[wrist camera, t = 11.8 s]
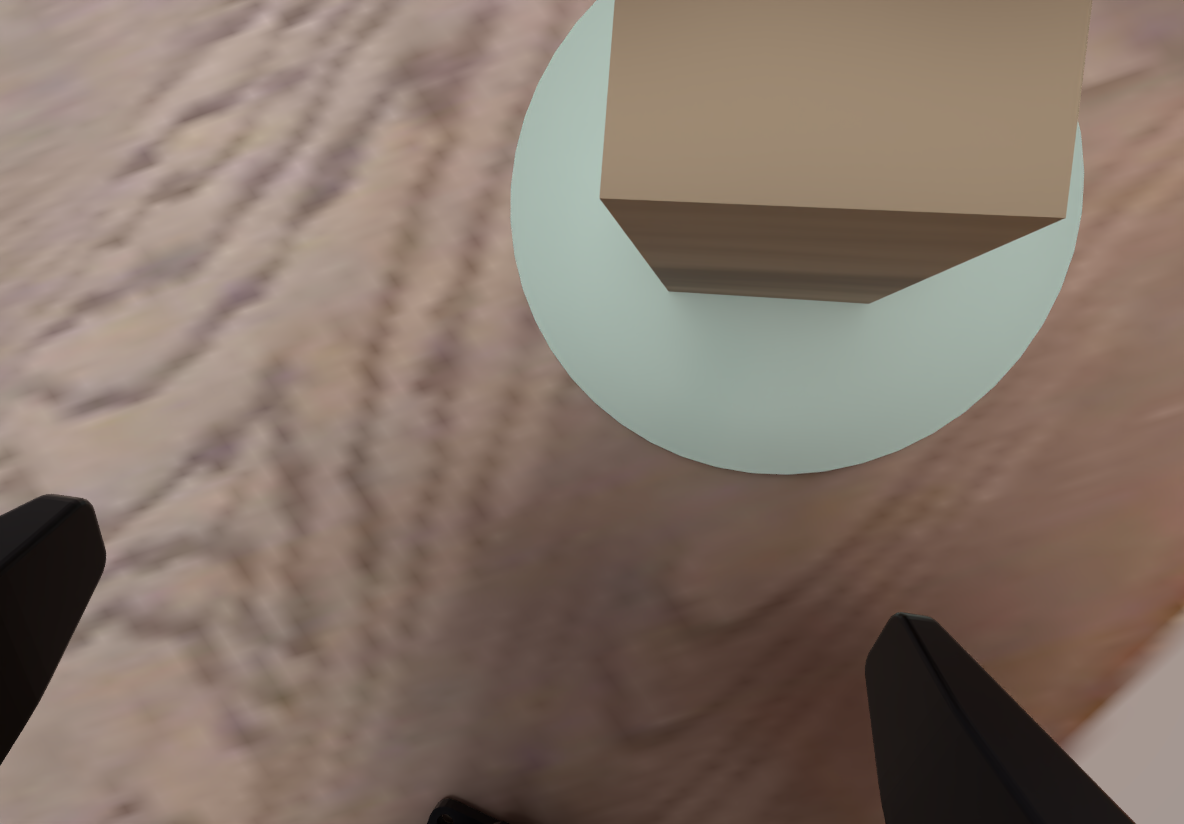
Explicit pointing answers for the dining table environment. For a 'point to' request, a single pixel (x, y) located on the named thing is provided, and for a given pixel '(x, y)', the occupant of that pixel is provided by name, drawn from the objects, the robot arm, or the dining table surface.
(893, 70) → the walnut block
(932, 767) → the robot arm
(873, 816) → the dining table surface
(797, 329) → the dish
